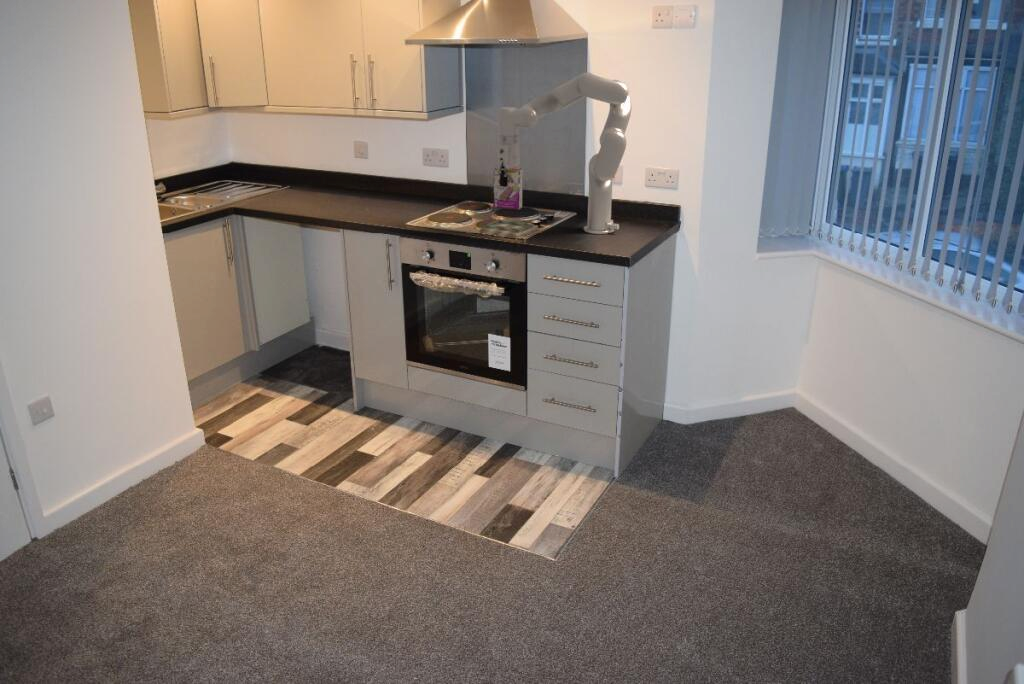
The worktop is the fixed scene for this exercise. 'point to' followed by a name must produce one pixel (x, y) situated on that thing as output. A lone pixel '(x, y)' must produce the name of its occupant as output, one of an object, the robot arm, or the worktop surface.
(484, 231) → the foundation plinth
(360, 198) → the worktop surface
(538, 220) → the worktop surface
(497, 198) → the candy bar box
